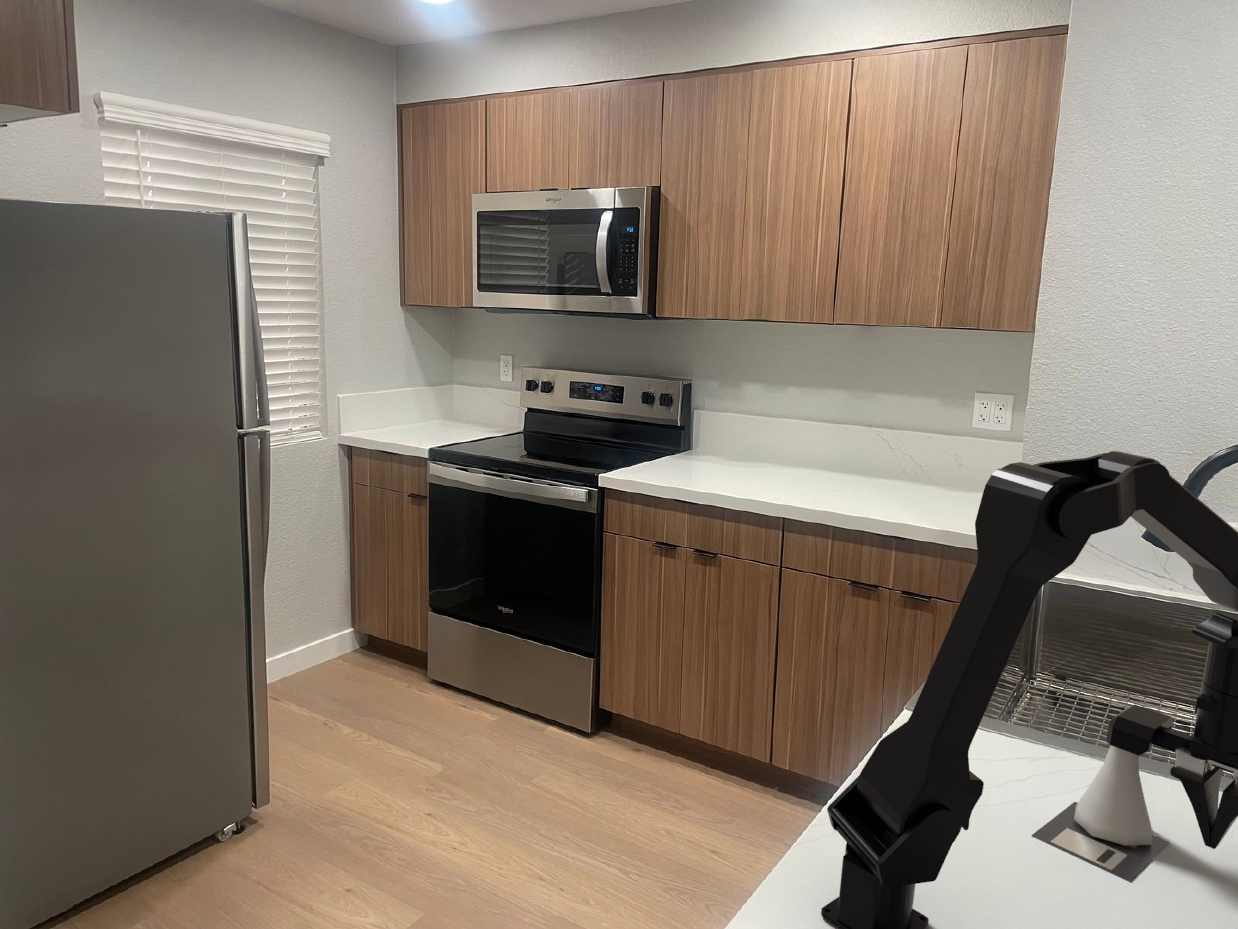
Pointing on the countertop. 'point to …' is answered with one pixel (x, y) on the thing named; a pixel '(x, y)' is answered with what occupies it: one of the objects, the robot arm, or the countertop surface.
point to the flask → (1116, 802)
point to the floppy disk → (1098, 846)
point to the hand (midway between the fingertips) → (1211, 846)
